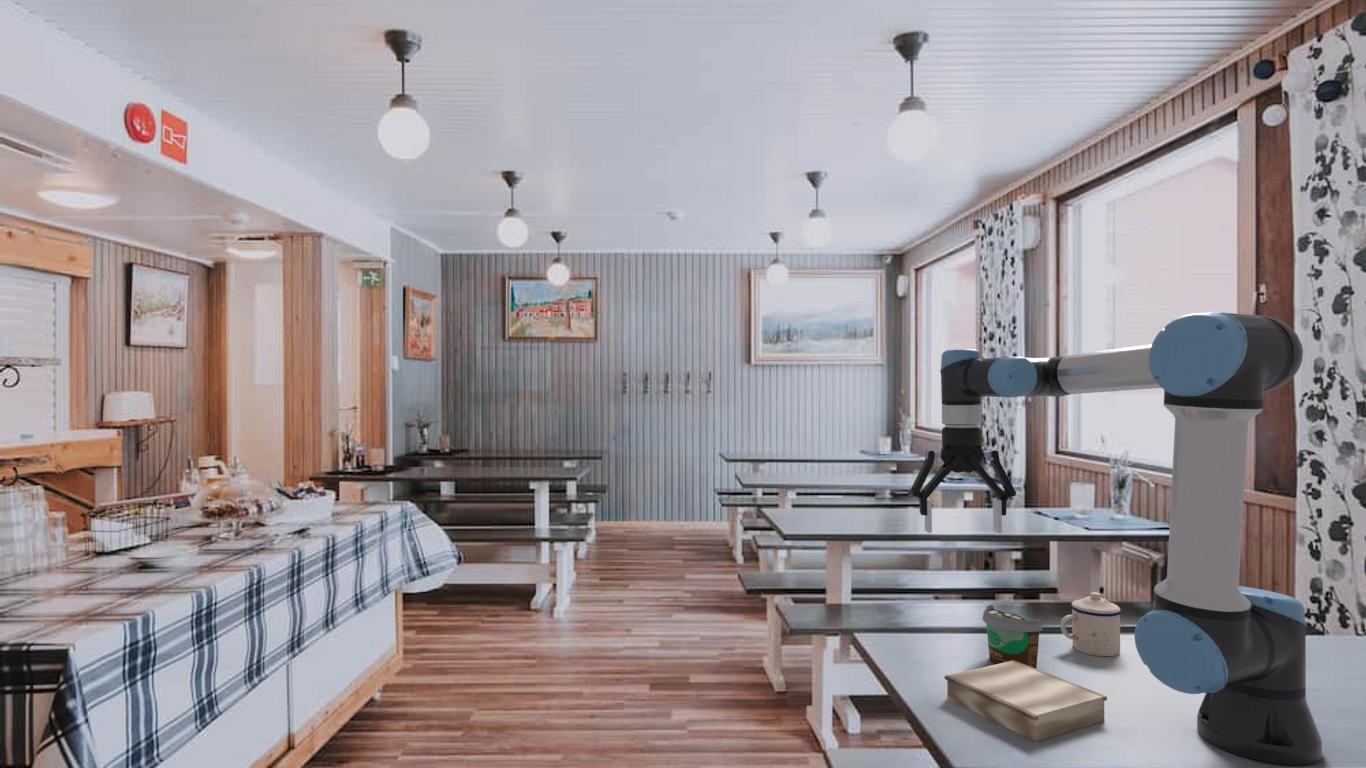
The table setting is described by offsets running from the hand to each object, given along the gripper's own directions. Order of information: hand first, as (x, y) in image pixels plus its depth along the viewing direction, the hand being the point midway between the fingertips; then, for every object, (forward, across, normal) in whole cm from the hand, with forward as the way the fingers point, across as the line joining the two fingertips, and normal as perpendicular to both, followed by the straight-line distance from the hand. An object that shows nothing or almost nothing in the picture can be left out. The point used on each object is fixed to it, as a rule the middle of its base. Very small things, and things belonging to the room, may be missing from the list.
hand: (962, 531), depth 152 cm
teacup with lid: (+25, -27, -6) cm, 37 cm away
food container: (+25, -7, +4) cm, 26 cm away
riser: (+25, -3, +24) cm, 35 cm away
